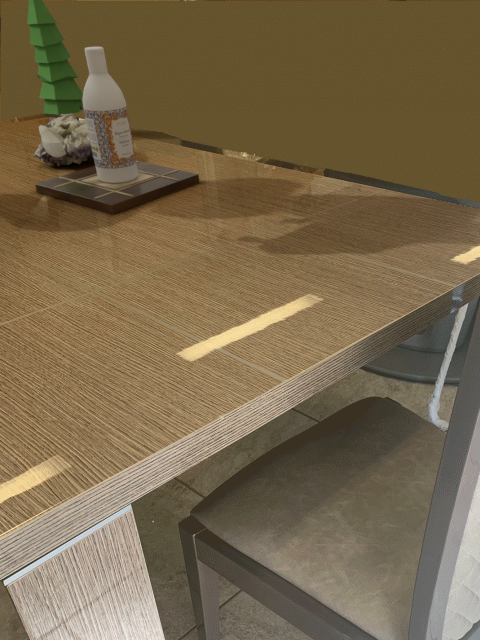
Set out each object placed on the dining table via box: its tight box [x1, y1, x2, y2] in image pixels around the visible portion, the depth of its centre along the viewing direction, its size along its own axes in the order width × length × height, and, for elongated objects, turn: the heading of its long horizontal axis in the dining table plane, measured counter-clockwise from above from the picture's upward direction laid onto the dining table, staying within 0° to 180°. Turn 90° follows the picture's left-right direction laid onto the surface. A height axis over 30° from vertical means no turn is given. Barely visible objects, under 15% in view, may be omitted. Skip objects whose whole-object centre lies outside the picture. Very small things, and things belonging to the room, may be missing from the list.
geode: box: [33, 113, 94, 167], centre depth 125 cm, size 17×9×15 cm
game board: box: [34, 159, 200, 215], centre depth 114 cm, size 20×20×2 cm
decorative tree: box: [26, 0, 84, 118], centre depth 136 cm, size 10×9×30 cm
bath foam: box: [82, 46, 138, 183], centre depth 107 cm, size 7×7×20 cm
